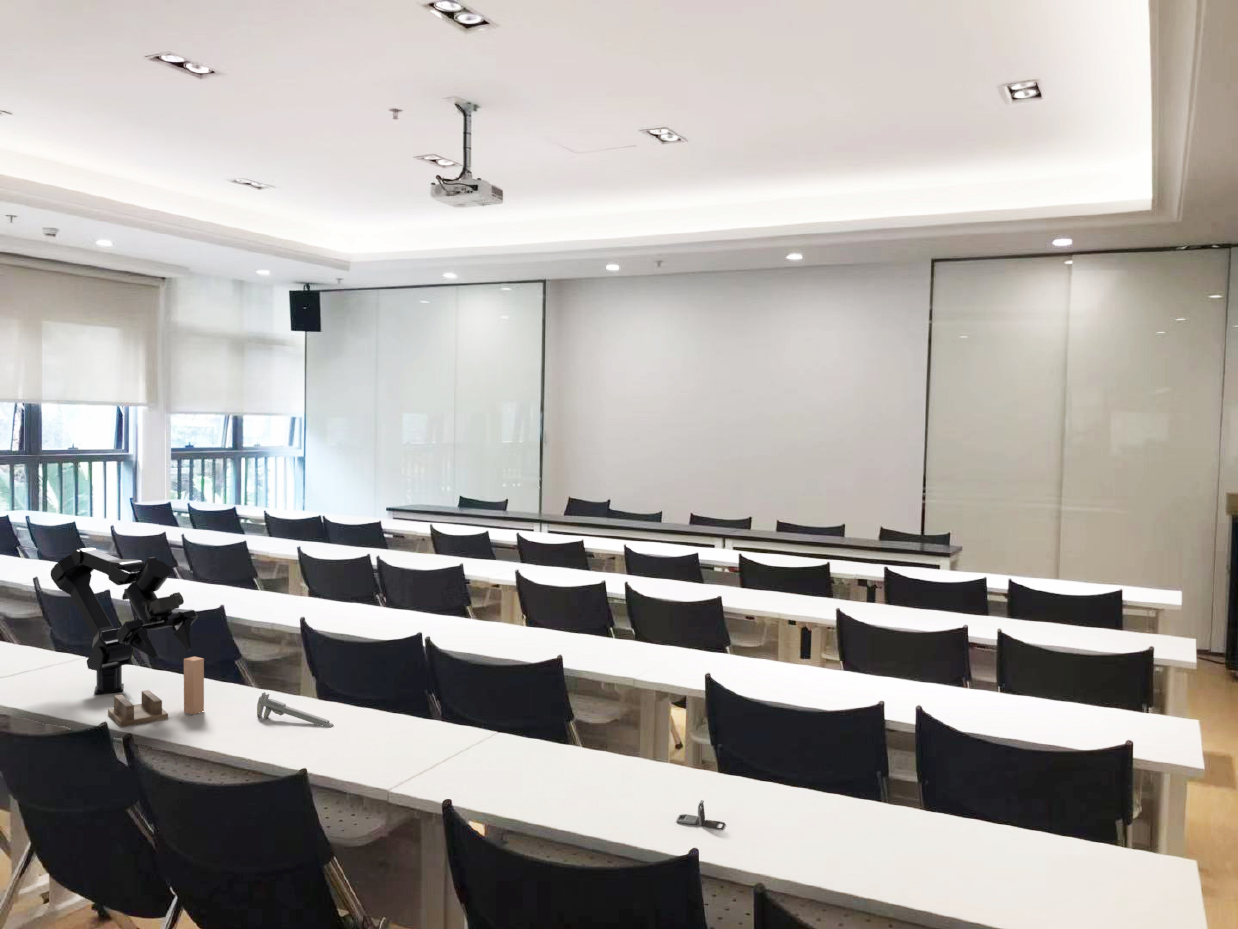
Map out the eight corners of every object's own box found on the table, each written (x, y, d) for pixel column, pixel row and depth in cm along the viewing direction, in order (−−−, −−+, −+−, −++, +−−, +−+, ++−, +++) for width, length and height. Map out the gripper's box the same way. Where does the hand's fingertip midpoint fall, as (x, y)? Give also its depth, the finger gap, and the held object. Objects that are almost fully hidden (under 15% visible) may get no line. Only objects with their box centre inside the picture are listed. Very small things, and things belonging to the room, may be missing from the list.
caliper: (256, 719, 219) (256, 692, 219) (259, 717, 220) (259, 691, 220) (331, 728, 213) (331, 701, 213) (334, 726, 214) (334, 700, 214)
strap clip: (675, 825, 165) (675, 802, 164) (679, 818, 168) (679, 795, 167) (722, 832, 162) (723, 808, 162) (725, 825, 165) (726, 801, 165)
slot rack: (108, 714, 219) (107, 696, 219) (153, 706, 226) (153, 688, 226) (121, 727, 210) (121, 708, 210) (168, 718, 217) (168, 700, 217)
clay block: (183, 712, 222) (183, 659, 221) (194, 709, 224) (194, 656, 224) (193, 714, 220) (193, 661, 219) (203, 711, 222) (203, 658, 222)
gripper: (124, 588, 219) (152, 641, 214) (193, 578, 235) (221, 627, 231) (103, 616, 223) (131, 669, 219) (173, 604, 240) (200, 653, 235)
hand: (173, 653), depth 226 cm, fingers open, 9 cm apart
